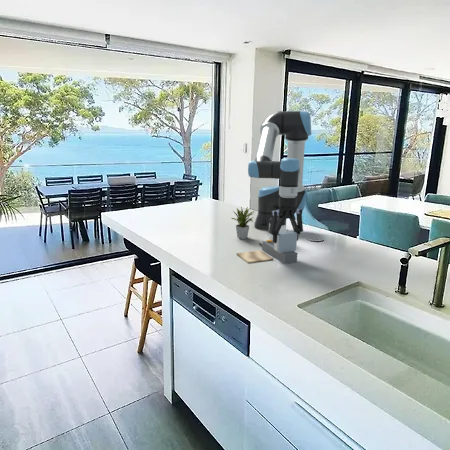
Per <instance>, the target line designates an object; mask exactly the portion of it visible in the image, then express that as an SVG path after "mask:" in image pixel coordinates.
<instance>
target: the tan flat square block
mask: <svg viewBox="0 0 450 450" xmlns="http://www.w3.org/2000/svg"><path fill="white" fill-rule="evenodd" d="M236 254H237V255H236ZM235 255H236V256H237V257H239V258H240V257H241V259H242V260H243V261H244V262H245V263H247V264H250V263H251V264H253V263H259V262H267V261H274V257H273V256H271V255H269V254H268V253H266V252H265V251H263V250H253V251H245V252H236V253H235Z"/></svg>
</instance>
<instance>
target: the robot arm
mask: <svg viewBox="0 0 450 450" xmlns="http://www.w3.org/2000/svg"><path fill="white" fill-rule="evenodd" d="M259 129H260V130H259V133H260V136H259V142H258V145H257V146H258V147H257V150H256V155H255V158H254V159H253V160H250V161H249V162H248V166H247V174H248V177H250V178H255V179H274V180H275V179H276V180H277V179H278V180H279V186H275V185H273V186H272V185H271V186H264V187H261V188H260V189H259V190H258V196H257V197H258V202H257V203H258V205H257V215H256V219H255V221H254V222H253V223H254V225H253V226H254V228H255V229H257V230H258V229H259V230H263V231H268V234H269V233H270V234H272V235H273V242H274V249H275V250H276V251H279V235H278V233H279V231H280V228H281V226H282V224H283V222H284V221H285V219H286V220H288V219H289V221H290V225H291V226H292V227H291V228H292V229H293V230H292V231H294V232H296V233H297V240H296V246H297V244H298V241H299V235H300V234H301V232H304V228H303V226H304V225H303V216H302V215H303V211H304V209H305V208H306V207H305V206H306V203H307V202H306V201H307V198H308V197H307V196H308V190H306V188H305V186H304V185H303V180H304V179H303V177H304V164H305V161H304V160H305V150H306V149H305V148H306V147H305V146H306V141H308V140H309V137H310V136H312V120H311V113H310V112H308V111H302V110H295V111H294V110H291V111H290V110H289V111H287V110H285V111H284V110H283V111H281V110H280V111H275V112H273V113H271V114H270V115H268V116H267V117H266V118H265V119H264V120H263V121H262V123H261V125H260V128H259ZM279 136H284V137H285V138H284V139H285V140H286V142H287V157H286V158H285V157H284V158H282V159H281V160H278V161H277V160H275V161H274V160H273V157H274V152H275V146H276V140H277V138H278V137H279ZM295 214H296V215H295ZM295 216H296V217H295ZM271 217H272V219H271V224H270V229H269V223H270V218H271ZM277 217H278V221H277ZM276 222H277V224H276Z"/></svg>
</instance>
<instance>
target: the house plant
mask: <svg viewBox="0 0 450 450" xmlns="http://www.w3.org/2000/svg"><path fill="white" fill-rule="evenodd" d="M240 209H241V210H239V209H238V207H236V211H237V212H235V211H234V210H232V212H233V213H234V215H235V216H236V218H235V217H230V219H231V220H234V221H237V223H238V224H236V225H235V229H236V230H235V231H236V237H237V238H238V239H240V238H243V239H245V238H246V239H247V238H248V236H249V230H250V224H249V225H248V223H249V222H252V223H254V219H253V218H255V217H254V216H253V215H254V214H256V211H255V210H253V211H251V212H249V210H250V208H248V206H247V207H246V208H245V210H244V209H243V207H242V206H240ZM250 216H253V217H251V218H250ZM243 239H242V240H243Z"/></svg>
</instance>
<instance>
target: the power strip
mask: <svg viewBox="0 0 450 450" xmlns="http://www.w3.org/2000/svg"><path fill="white" fill-rule="evenodd" d="M258 245H260V246H261V251H262V252H264V253H265V254H267V255H268V256H270V257H272V258H273V259H276V260H277V261H279V262H280V263H283V265H284V264H285V265H287V264H292V263H293V264H294V263H295V264H296V263H298V253H297V251H292V252H285V253H279V252H277V251H275V250H274V242H273V241H272V240H269V239H266V240H265V241H262V242H259V243H258Z"/></svg>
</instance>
